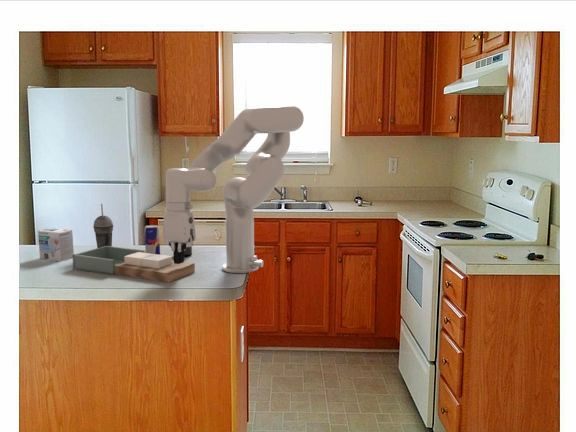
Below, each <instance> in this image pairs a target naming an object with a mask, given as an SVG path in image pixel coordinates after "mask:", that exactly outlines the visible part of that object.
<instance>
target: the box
mask: <svg viewBox="0 0 576 432" xmlns="http://www.w3.org/2000/svg"><path fill="white" fill-rule="evenodd" d="M137 252H142V253H145V250H144V249H135V248H128V247H118V246H113V245H112V246H104V247H100V248H97V247H96V248H93V249H90V250H86V251H82V252H78V253H74V255H72V256H73V258H72V267H73V270H78V271H83V272H84V271H85V272H91V273H98V274H104V275H111V276H114V275H116V274H115V265H118V264H122V263H125V261H124V256H127V255H130V254H134V253H137Z"/></svg>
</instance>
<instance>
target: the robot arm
mask: <svg viewBox="0 0 576 432" xmlns="http://www.w3.org/2000/svg"><path fill="white" fill-rule="evenodd" d="M304 120H305V119H304V114H303V111H302V110H301V108H299V107H297V106H296V105H282V106H281V105H280V106H254V107H247V108H245V109H243V110H242V111H241V112H239V114H237V116H236V117H235V119H234V120H233V121H232V122H231V123H230V124H229V126H227V127H226V129H225V130H224V131H223V133H222V134H220V136H219V137H218V138H217V139H215V140H214V141H213V142H212V143H211V144H210V145H209V146H208V147H206V148H205V149H204V150H202V151H201V153H200V154H199V155H197V157H196V158H195V159H194V160H193V161H192V162H191V164H190V165H189V166H188V167H187V168H185V167H184V168H183V167H181V168H177V167H175V168H174V167H173V168H168V169H167V170H166V171H165V203H166V205H165V208H166V210H165V211H164V214H163V221H162V237H163V240H164V241H163V243H164V244H166V245H168V246H169V247H170V248H171V249H170V250H171V251H172V252H173V254H172V255H173V260H174V264H176V263H177V264H180V263H183V262H185V257H184V251H185V250H186V248H187V247H191V246H192V247H194V241H196V223H195V217H194V213H193V211H191V210H192V209H193V208H194V206H193V204H191V191H195V192H202V193H203V192H208V191H211V190H212V189H213V188H214V187H215V185H216V184H217V183H216V182H217V177H216V175H215V173H214V171H215V170H216V169H217V168H218V167H220V166H221V165H222V164H224V163H226V162H228V161H231V160H232V159H234V158H237V157H238V156H239V155H240V154H241V153H242V151H243V150H244V149H245V148H246V146H248V144H249V143H250V142H251V141H252V139H253V138H254V137H255V136H256V135H257V134H267V137H266V138H265V140H264V141H263V143H262V144H261V145H260V146H259V148H258V149H257V150H256V151H255V153H254V154H252V156H251V157H250V158H249V159H248V161H247V162H246V165H245V173H246V175H247V178H245V177H240V176H239V177H238V176H235V177H233V178H230V179H228V181H226V183H225V184H224V186H223V189H222V191H223V192H222V193H223V194H222V195H223V196H222V197H223V203H224V211H225V236H226V237H225V240H226V241H225V243H226V245H225V246H226V262H225V263H223V264H222V265H221V267H222V268H221V269H222V271H224V272H225V273H232V274H246V273H252V272H255V271H258V269H259V268H264V260H262V259H258V256H257V255H255V220H254V219H255V217H254V216H255V215H254V209H256V208H257V207H259V206H261V205H262V203H263V202H265V200H266V199H267V198H268V197H269V196H270V195H271V193H272V192H273V190H274V189H276V187H277V185H278V184H279V183H280V182H281V180H282V179H283V176H284V172H285V166H284V162H283V158H284V157H285V156H286V155H287V153H288V151H289V149H290V145H291V132H296V131H297V130H299V129H300V128H301V127H302V126H303V123H304Z"/></svg>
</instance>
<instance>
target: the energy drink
mask: <svg viewBox="0 0 576 432" xmlns="http://www.w3.org/2000/svg"><path fill="white" fill-rule="evenodd" d="M160 238H161V237H160V226H159V225H158V224H156V225H155V224H150V225H149V224H148V225H145V226H144V246H145V247H144V248H145V253H150V254H158V255H161V240H160Z"/></svg>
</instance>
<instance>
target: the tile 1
mask: <svg viewBox="0 0 576 432" xmlns="http://www.w3.org/2000/svg"><path fill="white" fill-rule="evenodd" d="M152 255H155V254H150V253H142V252H137V253H134V254H130V255H127V256H124V261H125V264H131V265H139V266H142V258H145V257H149V256H152Z"/></svg>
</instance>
